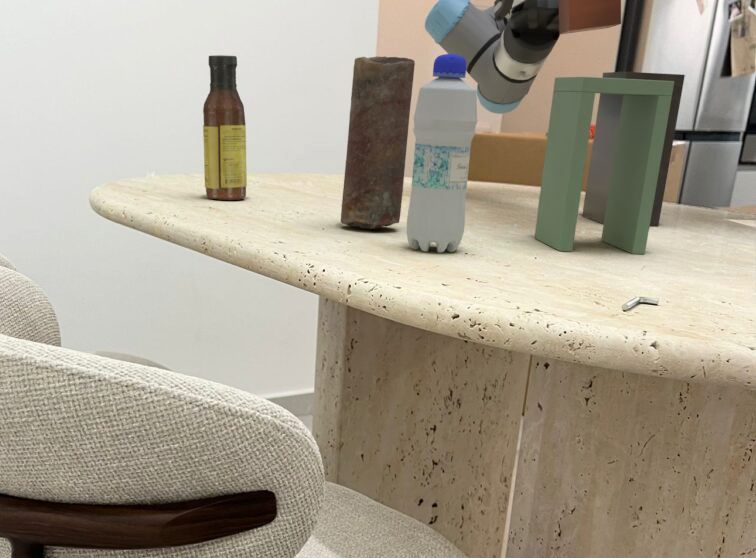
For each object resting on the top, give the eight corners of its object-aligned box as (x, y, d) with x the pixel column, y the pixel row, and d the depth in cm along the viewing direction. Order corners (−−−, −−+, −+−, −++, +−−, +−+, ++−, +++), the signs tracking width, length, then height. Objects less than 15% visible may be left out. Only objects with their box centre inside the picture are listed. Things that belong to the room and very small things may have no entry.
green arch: (612, 240, 117) (637, 81, 111) (644, 254, 108) (674, 81, 102) (534, 238, 117) (554, 77, 110) (559, 251, 107) (584, 76, 101)
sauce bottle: (251, 198, 144) (254, 57, 137) (239, 202, 138) (241, 55, 131) (210, 195, 145) (211, 55, 138) (196, 199, 139) (197, 53, 132)
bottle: (448, 256, 100) (468, 52, 93) (392, 249, 103) (407, 51, 96) (473, 250, 105) (494, 56, 98) (418, 242, 109) (435, 54, 101)
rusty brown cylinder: (411, 229, 119) (425, 57, 112) (383, 235, 113) (397, 54, 106) (358, 222, 123) (369, 56, 115) (329, 227, 117) (338, 52, 110)
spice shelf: (633, 217, 142) (657, 75, 135) (658, 226, 134) (685, 74, 127) (582, 215, 142) (603, 72, 134) (603, 224, 133) (627, 71, 126)
